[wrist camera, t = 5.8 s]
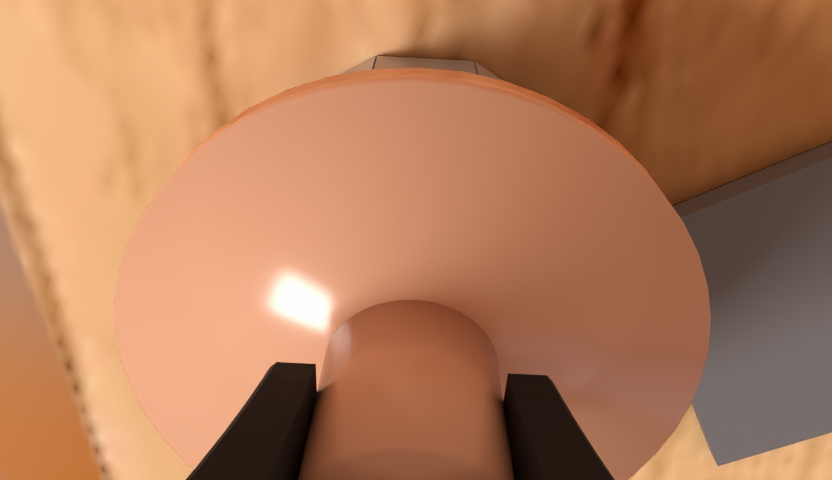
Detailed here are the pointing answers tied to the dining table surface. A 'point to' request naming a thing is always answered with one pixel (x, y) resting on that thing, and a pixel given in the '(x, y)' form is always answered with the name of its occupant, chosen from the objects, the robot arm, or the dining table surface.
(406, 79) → the lid
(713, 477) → the dining table surface
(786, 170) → the mat
